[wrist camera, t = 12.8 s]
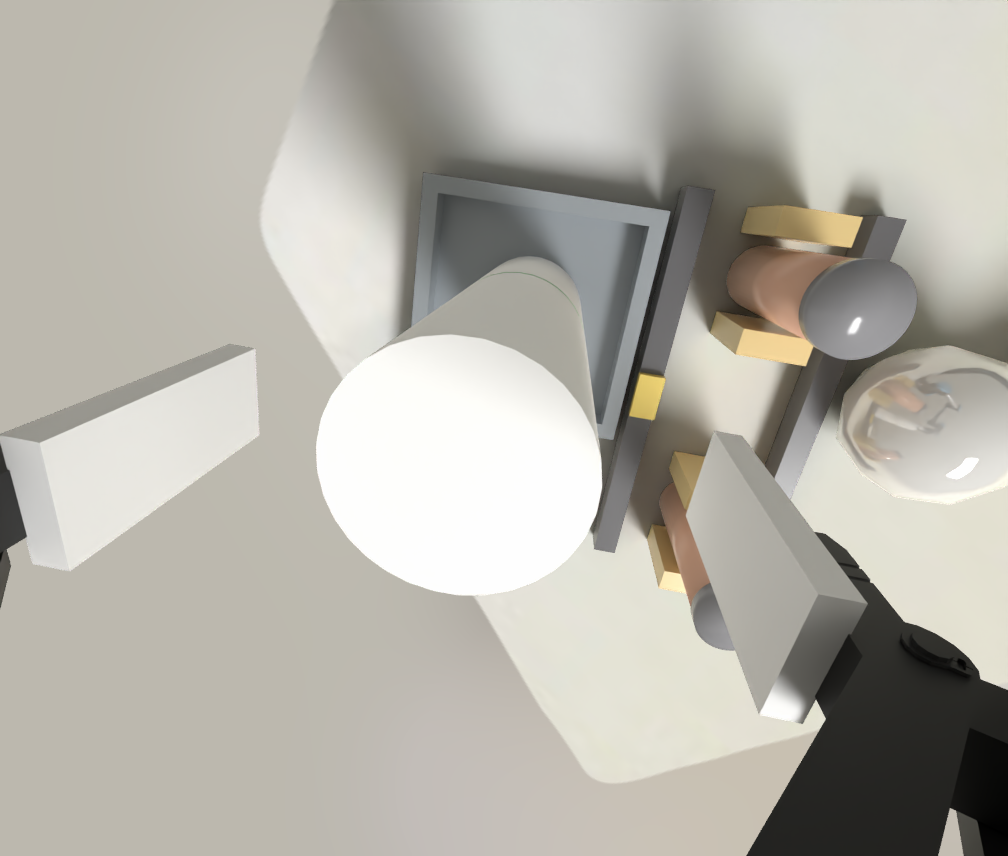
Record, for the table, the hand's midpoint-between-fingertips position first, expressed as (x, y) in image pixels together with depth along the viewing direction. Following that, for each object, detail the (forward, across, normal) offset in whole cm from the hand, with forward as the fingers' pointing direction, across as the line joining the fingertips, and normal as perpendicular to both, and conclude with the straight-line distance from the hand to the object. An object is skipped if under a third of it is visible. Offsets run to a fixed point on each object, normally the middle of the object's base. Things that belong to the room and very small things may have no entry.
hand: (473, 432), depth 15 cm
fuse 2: (+23, +14, +4) cm, 28 cm away
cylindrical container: (+23, 0, -1) cm, 23 cm away
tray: (+23, 0, -1) cm, 23 cm away
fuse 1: (+23, +14, -13) cm, 30 cm away
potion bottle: (+24, +28, -2) cm, 37 cm away
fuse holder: (+23, +14, -5) cm, 28 cm away
